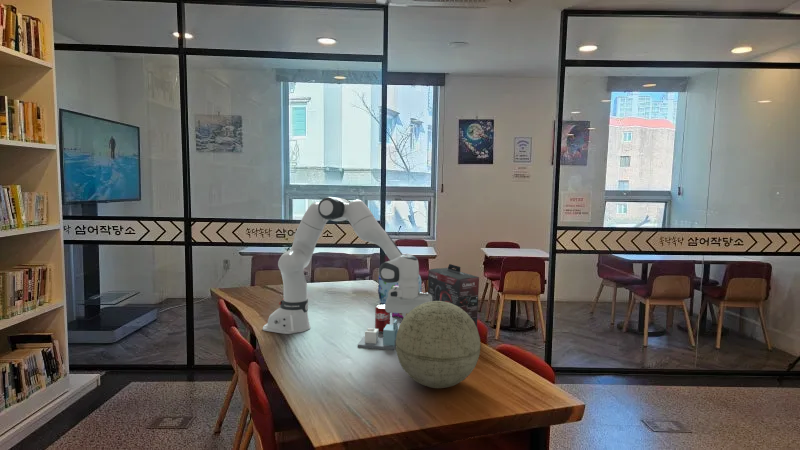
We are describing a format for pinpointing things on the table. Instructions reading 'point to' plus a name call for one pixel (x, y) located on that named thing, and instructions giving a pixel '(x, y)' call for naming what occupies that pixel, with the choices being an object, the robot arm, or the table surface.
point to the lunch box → (386, 287)
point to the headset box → (455, 288)
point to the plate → (376, 346)
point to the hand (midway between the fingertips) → (408, 323)
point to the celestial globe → (438, 344)
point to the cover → (390, 333)
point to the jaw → (371, 335)
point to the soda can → (381, 318)
